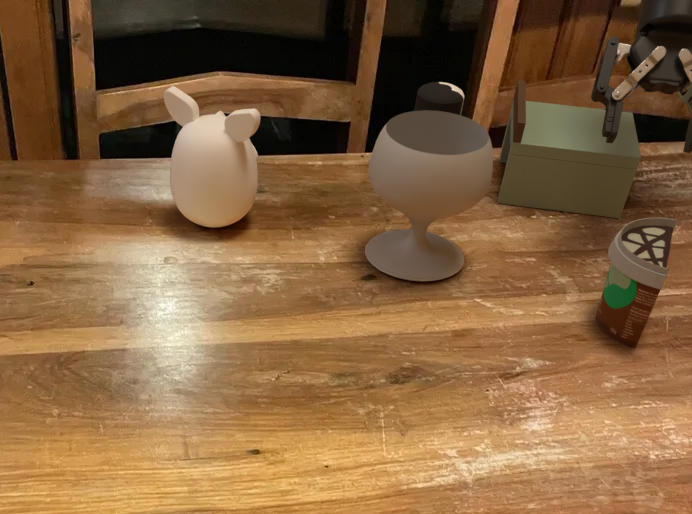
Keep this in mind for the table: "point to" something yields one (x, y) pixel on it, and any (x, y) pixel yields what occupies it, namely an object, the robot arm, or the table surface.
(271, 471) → the table surface
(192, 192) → the piggy bank
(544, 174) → the sage green lidded box
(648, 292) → the food container
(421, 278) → the chalice
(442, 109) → the medicine bottle
